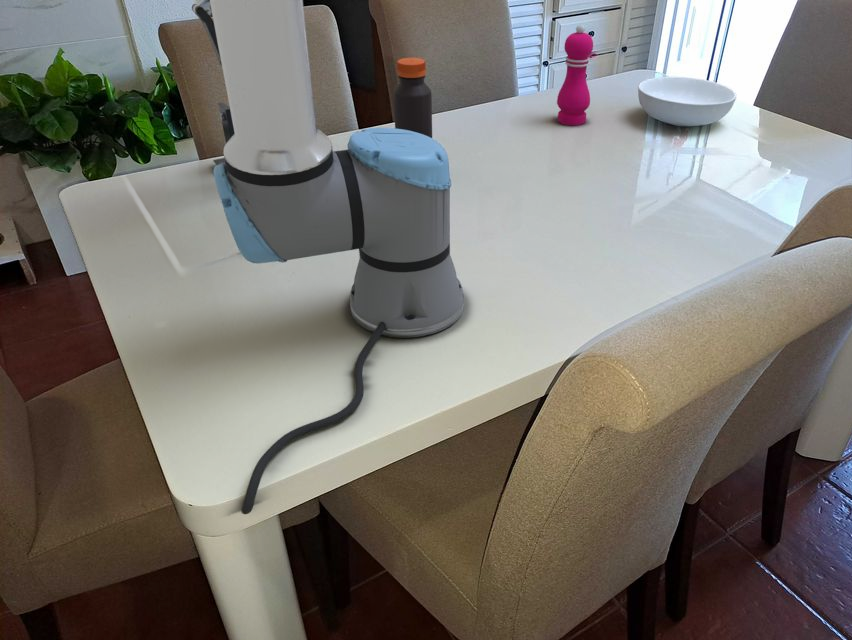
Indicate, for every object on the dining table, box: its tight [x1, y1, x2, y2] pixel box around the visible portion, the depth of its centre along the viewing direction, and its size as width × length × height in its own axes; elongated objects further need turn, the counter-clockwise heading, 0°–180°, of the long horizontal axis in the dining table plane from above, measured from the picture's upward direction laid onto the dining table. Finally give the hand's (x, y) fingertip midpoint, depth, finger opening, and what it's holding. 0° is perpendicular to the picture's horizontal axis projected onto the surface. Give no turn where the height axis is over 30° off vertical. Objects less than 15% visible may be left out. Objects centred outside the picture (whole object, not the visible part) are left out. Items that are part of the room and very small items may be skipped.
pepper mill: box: [556, 24, 594, 126], centre depth 151 cm, size 7×7×20 cm
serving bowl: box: [637, 76, 737, 128], centre depth 156 cm, size 21×21×7 cm
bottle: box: [392, 57, 433, 139], centre depth 127 cm, size 7×7×20 cm
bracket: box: [213, 101, 235, 166], centre depth 128 cm, size 12×9×13 cm
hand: (254, 112), depth 116 cm, fingers closed
